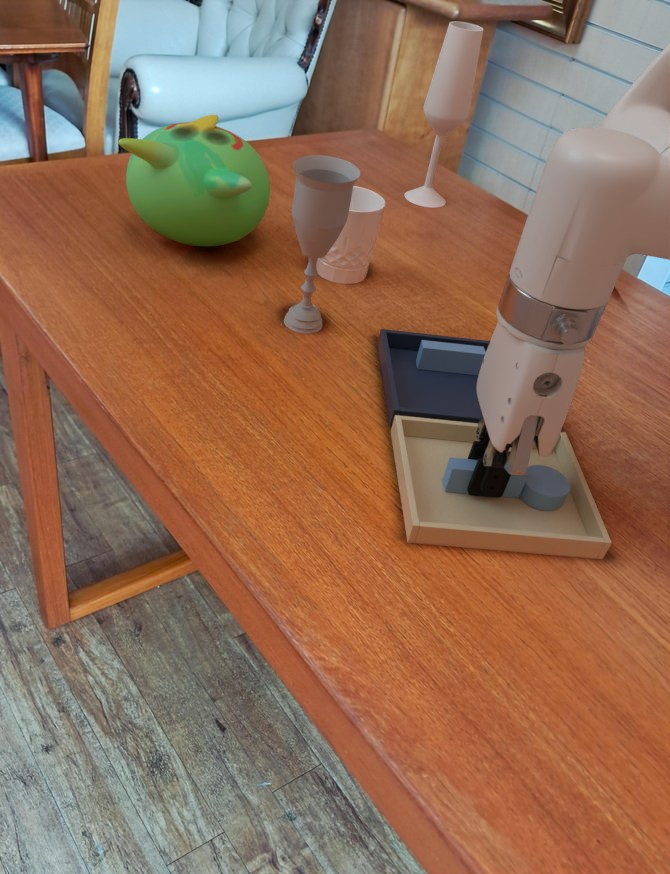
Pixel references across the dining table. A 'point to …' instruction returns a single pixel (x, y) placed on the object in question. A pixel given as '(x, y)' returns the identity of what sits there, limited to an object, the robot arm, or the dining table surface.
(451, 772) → the dining table surface
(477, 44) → the champagne flute
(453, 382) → the blue tray
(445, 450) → the cream tray
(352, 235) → the white cup
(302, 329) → the chalice
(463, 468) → the blue spoon
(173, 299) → the dining table surface
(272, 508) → the dining table surface
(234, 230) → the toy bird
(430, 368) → the blue spoon
